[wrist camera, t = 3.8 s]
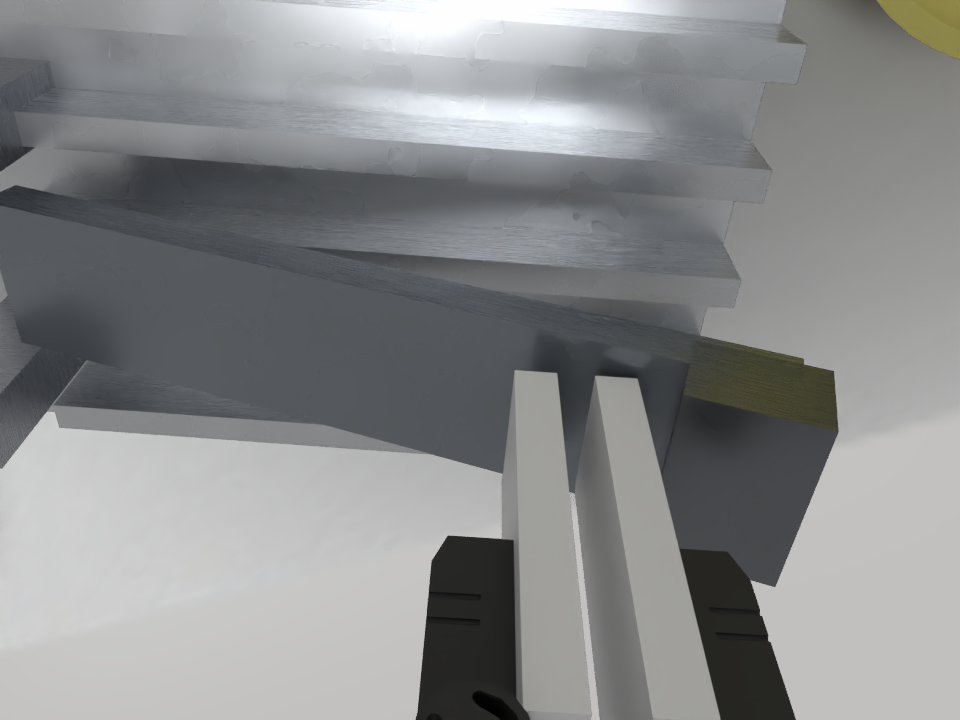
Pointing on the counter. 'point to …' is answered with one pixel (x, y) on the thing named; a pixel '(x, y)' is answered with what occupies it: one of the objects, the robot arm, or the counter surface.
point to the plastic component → (928, 22)
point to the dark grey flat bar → (418, 358)
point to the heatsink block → (391, 156)
